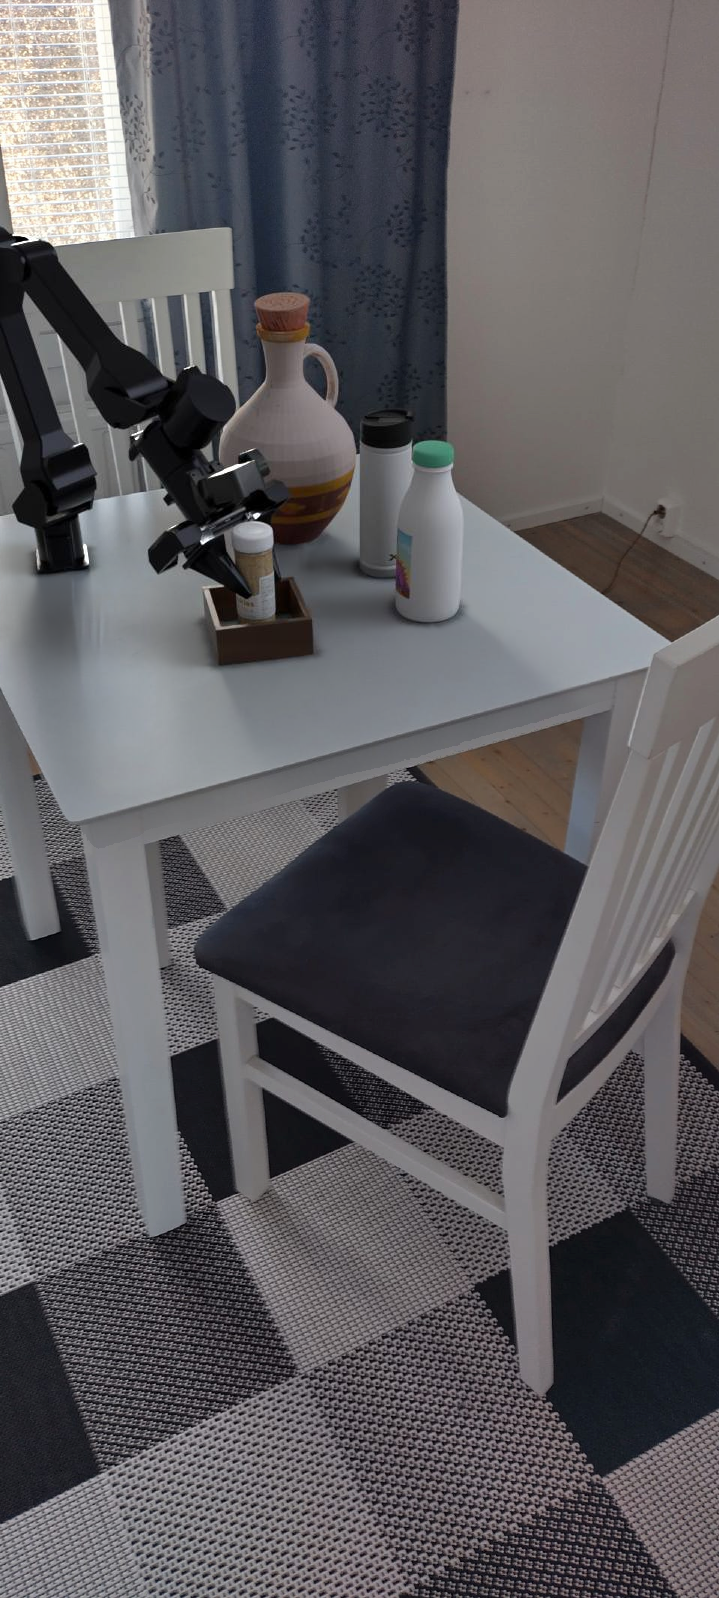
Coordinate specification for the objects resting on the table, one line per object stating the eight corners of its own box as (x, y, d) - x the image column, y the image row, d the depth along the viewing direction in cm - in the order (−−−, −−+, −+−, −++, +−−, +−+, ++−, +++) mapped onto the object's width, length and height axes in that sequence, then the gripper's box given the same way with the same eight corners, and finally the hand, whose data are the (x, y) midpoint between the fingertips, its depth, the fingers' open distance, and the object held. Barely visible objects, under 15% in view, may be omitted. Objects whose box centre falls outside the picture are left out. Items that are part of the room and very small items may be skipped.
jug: (288, 492, 170) (280, 271, 152) (389, 522, 162) (393, 291, 144) (197, 538, 158) (176, 303, 140) (301, 573, 149) (294, 327, 131)
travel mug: (406, 580, 148) (411, 422, 136) (355, 576, 149) (355, 418, 137) (414, 559, 153) (419, 405, 141) (364, 554, 154) (365, 401, 142)
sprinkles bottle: (230, 638, 136) (222, 529, 128) (257, 623, 139) (251, 516, 131) (258, 651, 134) (252, 540, 126) (286, 636, 136) (281, 527, 128)
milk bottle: (466, 599, 144) (476, 438, 132) (449, 628, 138) (458, 462, 126) (406, 590, 146) (410, 430, 134) (386, 618, 140) (389, 454, 128)
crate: (205, 620, 139) (202, 586, 137) (294, 610, 141) (293, 576, 139) (218, 666, 131) (215, 630, 128) (313, 654, 133) (312, 618, 130)
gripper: (155, 457, 118) (244, 587, 120) (275, 407, 130) (355, 526, 131) (110, 512, 127) (194, 633, 128) (227, 460, 139) (302, 572, 140)
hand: (264, 589), depth 132 cm, fingers open, 5 cm apart
